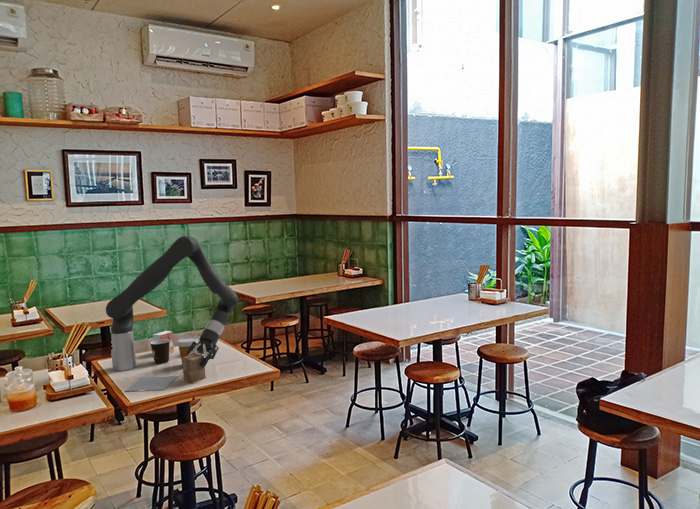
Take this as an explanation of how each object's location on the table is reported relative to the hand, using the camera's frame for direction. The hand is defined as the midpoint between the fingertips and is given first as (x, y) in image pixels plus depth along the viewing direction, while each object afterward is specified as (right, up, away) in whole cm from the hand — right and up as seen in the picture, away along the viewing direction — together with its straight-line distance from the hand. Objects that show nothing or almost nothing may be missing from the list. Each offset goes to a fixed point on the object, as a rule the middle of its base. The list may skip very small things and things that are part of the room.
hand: (194, 365), depth 222 cm
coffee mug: (-24, -4, +30) cm, 39 cm away
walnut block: (0, -6, 0) cm, 6 cm away
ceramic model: (-9, -2, +42) cm, 43 cm away
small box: (-28, -3, +44) cm, 52 cm away
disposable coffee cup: (-8, -4, +21) cm, 23 cm away
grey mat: (-17, -7, -2) cm, 19 cm away
